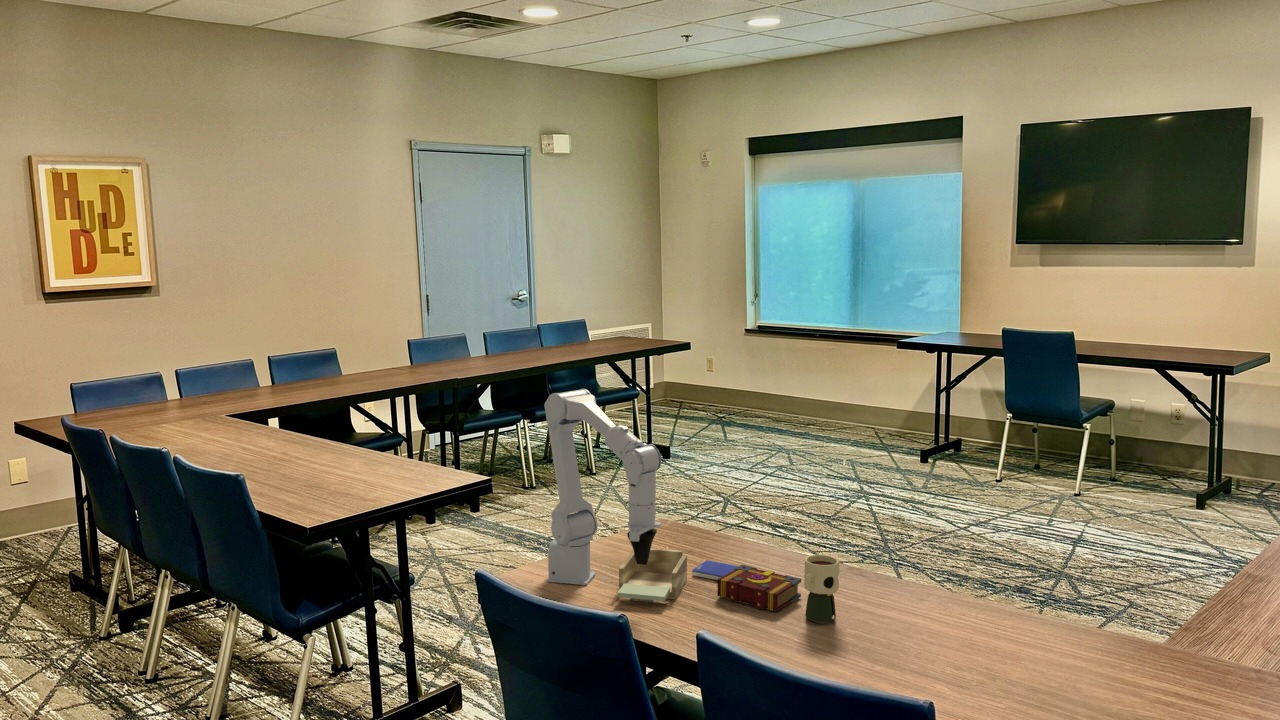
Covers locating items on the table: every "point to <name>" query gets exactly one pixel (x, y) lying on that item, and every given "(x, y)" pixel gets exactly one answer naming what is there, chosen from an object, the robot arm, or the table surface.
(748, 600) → the decorative book
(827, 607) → the character mug
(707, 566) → the hard drive
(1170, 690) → the table surface
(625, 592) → the panel
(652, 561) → the crate
